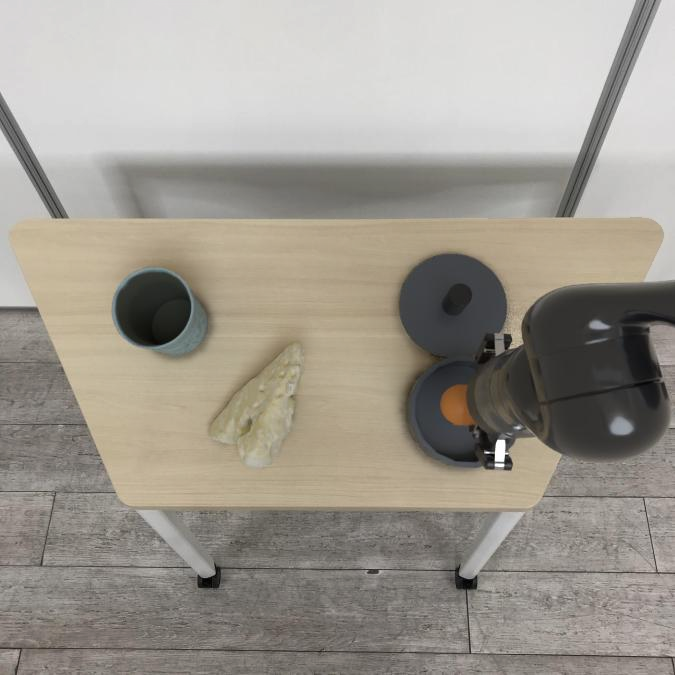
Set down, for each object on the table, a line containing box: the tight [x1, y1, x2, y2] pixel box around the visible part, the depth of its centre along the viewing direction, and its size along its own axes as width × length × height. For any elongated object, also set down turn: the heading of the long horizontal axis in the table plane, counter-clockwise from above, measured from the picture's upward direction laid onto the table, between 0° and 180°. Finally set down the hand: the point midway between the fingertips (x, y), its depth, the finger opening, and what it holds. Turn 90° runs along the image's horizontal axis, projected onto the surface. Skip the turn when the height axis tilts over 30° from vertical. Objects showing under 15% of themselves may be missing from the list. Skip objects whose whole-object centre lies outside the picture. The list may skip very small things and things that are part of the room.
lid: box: [398, 253, 508, 359], centre depth 82 cm, size 15×15×7 cm
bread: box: [440, 384, 474, 426], centre depth 68 cm, size 9×4×4 cm, turn 88°
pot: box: [405, 355, 517, 469], centre depth 80 cm, size 14×14×6 cm
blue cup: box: [110, 266, 209, 356], centre depth 80 cm, size 10×10×12 cm
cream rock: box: [207, 341, 306, 469], centre depth 80 cm, size 15×7×15 cm
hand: (478, 406), depth 69 cm, fingers closed on bread, 4 cm apart
